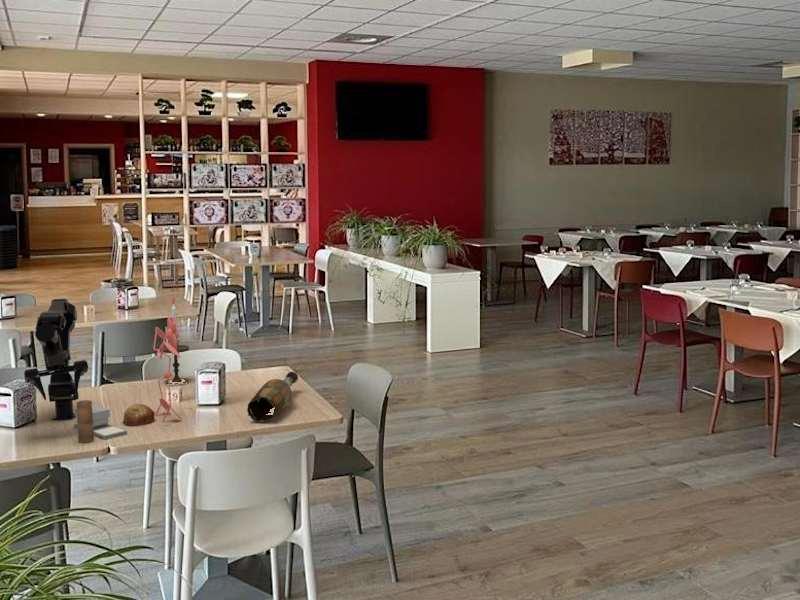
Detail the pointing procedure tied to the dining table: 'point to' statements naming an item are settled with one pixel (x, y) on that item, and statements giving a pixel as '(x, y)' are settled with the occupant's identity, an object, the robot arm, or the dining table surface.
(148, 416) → the bread roll
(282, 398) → the decorative bottle
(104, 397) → the dining table surface
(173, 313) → the candlestick
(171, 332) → the figurine
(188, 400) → the dining table surface
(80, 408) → the walnut roller
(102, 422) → the grey stand
